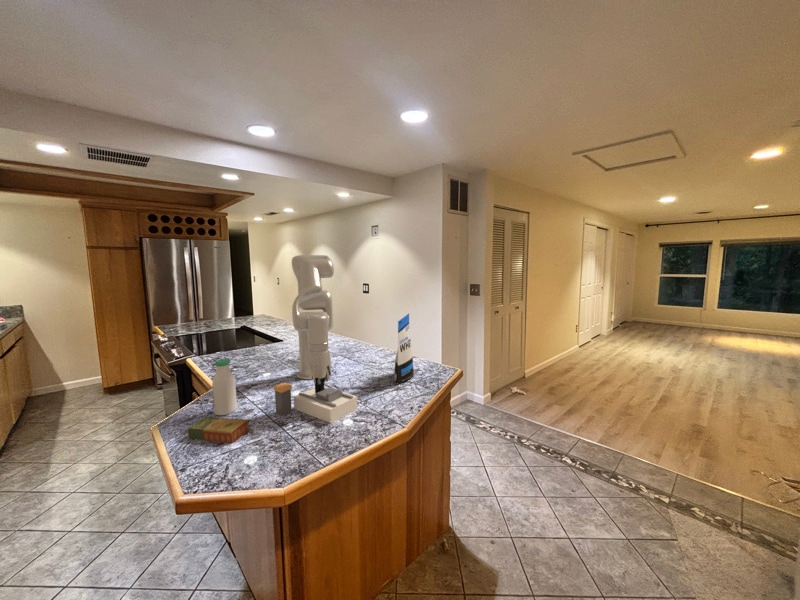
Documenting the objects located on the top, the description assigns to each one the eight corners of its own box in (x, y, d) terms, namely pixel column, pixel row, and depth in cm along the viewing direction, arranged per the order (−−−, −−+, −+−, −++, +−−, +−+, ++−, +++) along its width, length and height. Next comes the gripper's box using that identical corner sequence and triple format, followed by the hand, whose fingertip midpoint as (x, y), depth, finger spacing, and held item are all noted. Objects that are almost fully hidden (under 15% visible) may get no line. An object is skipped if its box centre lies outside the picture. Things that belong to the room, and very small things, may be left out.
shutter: (315, 398, 124) (315, 390, 124) (329, 392, 130) (329, 385, 130) (328, 402, 120) (328, 394, 120) (342, 396, 126) (342, 388, 126)
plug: (274, 413, 123) (273, 386, 122) (285, 408, 127) (284, 382, 126) (282, 416, 121) (281, 388, 120) (292, 411, 125) (291, 385, 123)
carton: (232, 444, 103) (231, 431, 102) (187, 440, 106) (186, 427, 105) (248, 431, 111) (248, 419, 110) (207, 427, 114) (206, 415, 113)
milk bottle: (241, 408, 127) (238, 358, 125) (225, 417, 120) (221, 364, 118) (226, 405, 130) (223, 356, 127) (209, 414, 122) (205, 362, 120)
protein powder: (388, 384, 152) (388, 321, 148) (400, 368, 175) (400, 313, 172) (408, 386, 150) (408, 321, 146) (417, 369, 173) (418, 313, 170)
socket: (294, 409, 127) (293, 394, 126) (321, 396, 138) (321, 383, 138) (330, 423, 116) (330, 407, 115) (357, 408, 127) (357, 394, 126)
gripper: (297, 346, 127) (299, 391, 129) (324, 352, 119) (325, 400, 121) (313, 342, 133) (314, 385, 135) (339, 347, 125) (340, 394, 127)
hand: (319, 392), depth 128 cm, fingers closed
